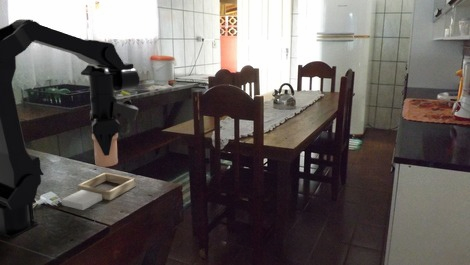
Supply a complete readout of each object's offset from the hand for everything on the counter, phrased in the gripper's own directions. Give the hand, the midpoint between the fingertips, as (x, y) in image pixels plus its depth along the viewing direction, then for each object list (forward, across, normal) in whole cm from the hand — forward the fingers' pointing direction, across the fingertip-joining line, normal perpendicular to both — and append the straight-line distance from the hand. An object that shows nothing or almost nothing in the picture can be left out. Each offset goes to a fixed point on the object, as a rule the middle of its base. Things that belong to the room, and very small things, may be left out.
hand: (105, 151), depth 97 cm
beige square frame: (+10, 0, 0) cm, 11 cm away
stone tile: (+10, -6, +6) cm, 14 cm away
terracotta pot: (+3, 0, 0) cm, 3 cm away
